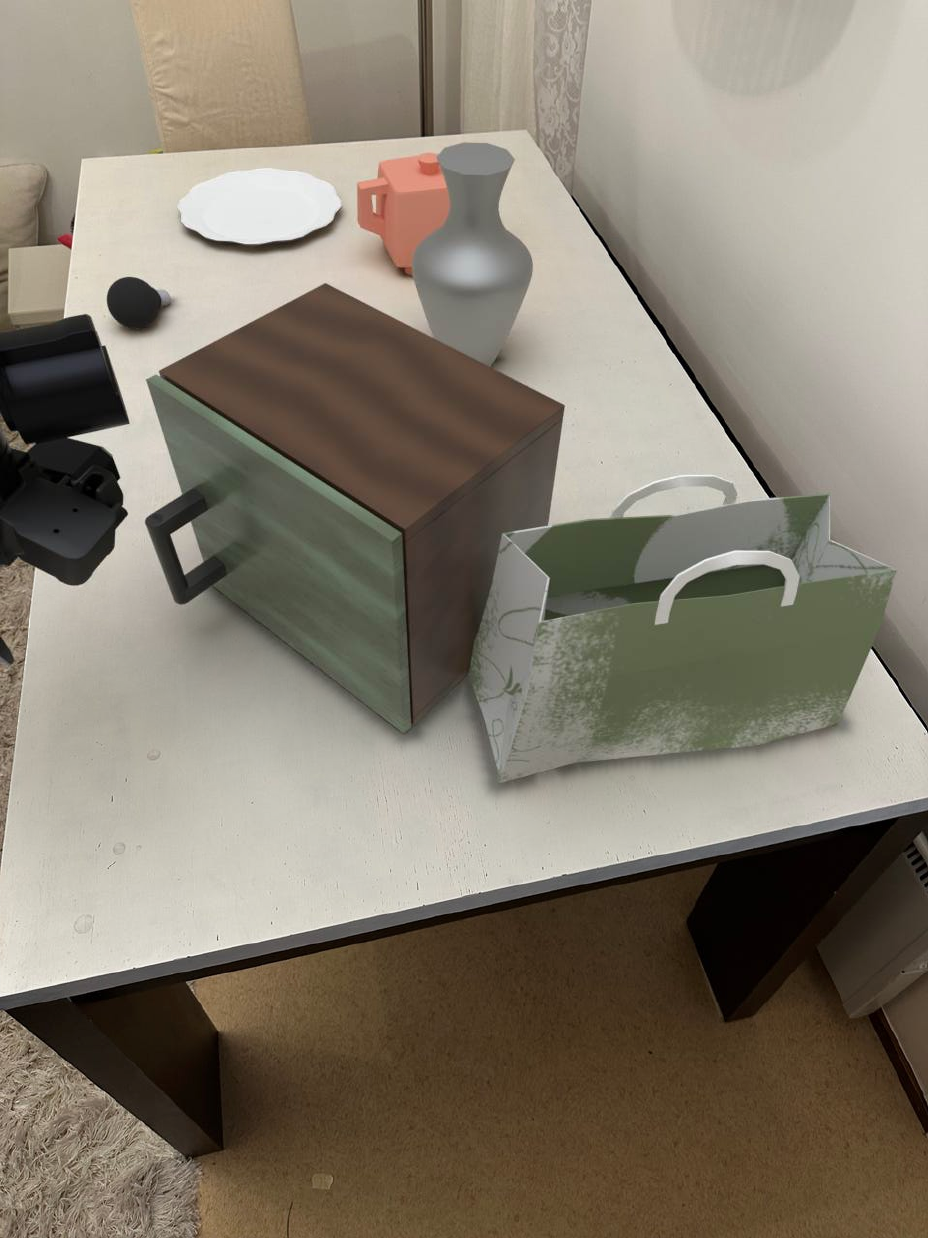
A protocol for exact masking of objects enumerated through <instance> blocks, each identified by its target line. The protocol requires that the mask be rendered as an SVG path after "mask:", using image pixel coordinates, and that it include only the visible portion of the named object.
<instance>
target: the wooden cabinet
mask: <svg viewBox="0 0 928 1238" xmlns="http://www.w3.org/2000/svg"><path fill="white" fill-rule="evenodd" d="M158 374H159V376H160V377H161V378H163V379H164V380H166V381H167V382H169V383H170V384H172V385H173V386H175V387H177V388H178V389H180V390H181V391H183V392H184V393H186V394H187V395H189V396H191V397H192V398H194V399H195V400H197V401H198V402H200V403H201V404H203V405H204V406H206V407H208V408H209V409H211V410H212V411H214V412H215V413H217V414H218V415H220V416H221V417H223V418H225V419H226V420H228V421H229V422H231V423H232V424H234V425H235V426H237V427H238V428H240V429H242V430H243V431H245V432H246V433H248V434H249V435H251V436H252V437H254V438H256V439H257V440H259V441H260V442H262V443H263V444H265V445H266V446H268V447H269V448H271V449H273V450H274V451H276V452H277V453H279V454H280V455H282V456H283V457H285V458H286V459H288V460H290V461H291V462H293V463H294V464H296V465H297V466H299V467H300V468H302V469H303V470H305V471H307V472H308V473H310V474H311V475H313V476H314V477H316V478H317V479H319V480H321V481H322V482H324V483H325V484H327V485H328V486H330V487H331V488H333V489H334V490H336V491H338V492H339V493H341V494H342V495H344V496H345V497H347V498H348V499H350V500H351V501H353V502H355V503H356V504H358V505H359V506H361V507H362V508H364V509H365V510H367V511H368V512H370V513H372V514H373V515H375V516H376V517H378V518H379V519H381V520H382V521H384V522H386V523H387V524H389V525H390V526H392V527H393V528H395V529H396V530H398V531H399V532H401V533H402V542H403V563H404V584H405V605H406V626H407V647H408V668H409V689H410V710H411V726H415V725H416V724H417V723H418V722H419V721H420V720H422V719H423V717H424V716H426V714H427V713H429V712H430V711H431V710H432V709H433V708H434V707H435V706H436V705H437V704H439V702H440V701H442V700H443V698H445V697H446V696H447V695H448V694H449V693H450V692H451V691H452V690H453V689H454V688H456V686H457V685H458V684H460V682H461V681H462V680H463V679H464V678H466V677H467V676H468V675H469V669H470V663H471V657H472V651H473V644H474V640H475V638H476V635H477V633H478V630H479V627H480V623H481V620H482V616H483V613H484V610H485V606H486V603H487V599H488V596H489V592H490V589H491V586H492V581H493V576H494V571H495V566H496V562H497V557H498V552H499V547H500V542H501V537H502V533H507V532H513V531H519V530H525V529H531V528H537V527H543V526H549V521H550V514H551V508H552V499H553V493H554V486H555V479H556V473H557V465H558V459H559V458H558V456H559V449H560V445H561V444H560V443H561V435H562V429H563V421H564V416H565V415H564V414H565V409H566V408H565V407H566V405H565V404H564V403H562V402H560V401H557V400H555V399H554V398H551V397H550V396H547V395H546V394H544V393H542V392H540V391H538V390H536V389H534V388H532V387H530V386H529V385H526V384H525V383H522V382H521V381H518V380H517V379H514V378H513V377H511V376H509V375H507V374H504V373H503V372H501V371H499V370H497V369H495V368H493V367H492V366H491V367H489V366H487V365H485V364H483V363H481V362H479V361H477V360H475V359H473V358H471V357H469V356H467V355H466V354H464V353H462V352H460V351H458V350H456V349H454V348H452V347H450V346H448V345H446V344H444V343H442V342H440V341H438V340H436V339H434V337H433V336H431V335H428V334H426V333H424V332H422V331H421V330H419V329H417V328H415V327H413V326H411V325H408V324H407V323H405V322H403V321H401V320H398V319H397V318H395V317H393V316H391V315H390V314H387V313H385V312H383V311H381V310H380V309H377V308H375V307H373V306H371V304H370V305H369V304H368V303H365V302H364V301H362V300H360V299H358V298H356V297H353V296H352V295H350V294H348V293H347V292H344V291H342V290H341V289H338V288H336V287H334V286H332V285H330V284H328V283H327V282H325V283H322V284H320V285H318V286H317V287H315V288H313V289H311V290H309V291H307V292H305V293H303V294H302V295H300V296H298V297H295V298H294V299H292V300H290V301H288V302H287V303H285V304H282V305H281V306H278V307H277V308H274V309H273V310H271V311H269V312H267V313H265V314H263V315H262V316H260V317H258V318H256V319H254V320H252V321H250V322H248V323H246V324H245V325H243V326H241V327H239V328H237V329H235V330H233V331H232V332H230V333H227V334H226V335H224V336H222V337H220V338H218V339H216V340H215V341H213V342H211V343H209V344H207V345H205V346H203V347H201V348H199V349H197V350H195V351H194V352H191V353H189V354H188V355H186V356H184V357H181V359H178V360H176V361H174V362H172V363H171V364H169V365H167V366H165V367H163V368H162V369H159V370H158Z"/></svg>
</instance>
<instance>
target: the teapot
mask: <svg viewBox="0 0 928 1238" xmlns="http://www.w3.org/2000/svg"><path fill="white" fill-rule="evenodd" d="M439 154H440V153H435V152H423V153H420V154H419V155H412V156H406V157H398V158H392V159H386V160H381V161H380V162H379V163H378V169H377V176H376V177H377V178H372V179H368V180H362V181H357V182H356V191H357V192H356V203H357V204H356V205H357V206H356V207H357V208H356V210H357V212H356V213H357V214H356V215H357V219H356V220H357V222H358V225H359V227H360V229H363V230H365V231H367V232H370V233H373V234H376V235H377V236H379V237H380V239H381V242H382V243H383V245H384V247H385V250H386V251H387V253H388V255H389V257H390V258H391V260H392V262H393V263H394V265H395V266H396V267H397V268H404V272H405V274H407V275H409V276H413V274H412V258H413V254H414V252H415V250H416V248H417V246H418V244H419V243H420V242H421V241H422V240H423V239H424V238H425V237H427V236H428V235H429V234H431V233H432V232H434V231H435V230H437V229H439V228H440V227H442V225H443V224H444V222H445V220H446V218H447V216H448V213H449V209H450V199H449V194H448V189H447V186H446V182H445V179H444V176H443V173H442V170H441V168H440V165H439V163H438V160H437V158H436V157H437V156H438V155H439ZM373 196H375V212H374V204H373Z"/></svg>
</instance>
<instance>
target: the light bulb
mask: <svg viewBox="0 0 928 1238" xmlns="http://www.w3.org/2000/svg"><path fill="white" fill-rule="evenodd" d="M171 300H172V299H171V294H170V293H169V291H167V290H166V289H155V288H154V287H153V286H151V284H149V283H148V282H147V281H145V280H143V279H141V278H139V277H135V276H124V277H121V278H118V279H116V280H115V281H114V282H113V283H112V284H110V287H108V291H107V294H106V306H107V309H108V312H109V313H110V315H111V317H112V318H113V319H114V320H115V321H116V322H117V323H119V324H120V325H122V326H123V327H125V328H129V329H134V330H138V329H139V330H140V329H145V328H146V327H149V326H150V325H151V324H153V322H154V321H155V320H156V318H157V317H158V314H159V311H160V310H161V308H163V307H167V306H169V305H170V304H171Z"/></svg>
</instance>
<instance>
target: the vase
mask: <svg viewBox="0 0 928 1238" xmlns="http://www.w3.org/2000/svg"><path fill="white" fill-rule="evenodd" d="M438 154H439V155H438V156H437V157H436V158H437V160H438V163H439V165H440V168H441V170H442V173H443V176H444V179H445V182H446V186H447V189H448V194H449V199H450V209H449V213H448V216H447V218H446V220H445V222H444V224H443V225H442V227H440V228H439V229H437V230H435V231H434V232H432V233H431V234H429V235H428V236H427V237H425V238H424V239H423V240H422V241H421V242H420V243H419V244H418V246H417V248H416V250H415V252H414V254H413V258H412V274H413V275H412V279H413V282H414V285H415V288H416V292H417V295H418V299H419V301H420V303H421V306H422V310H423V313H424V315H425V319H426V321H427V324H428V327H429V330H430V332H431V334H432V338H434V339H436V340H438V341H440V342H442V343H444V344H446V345H448V346H450V347H452V348H454V349H456V350H458V351H460V352H462V353H464V354H466V355H467V356H469V357H471V358H473V359H475V360H477V361H479V362H481V363H483V364H485V365H487V366H489V367H491V368H492V367H493V364H494V362H495V361H496V359H497V357H498V356H499V354H500V352H501V350H502V349H503V347H504V345H505V343H506V342H507V340H508V337H509V336H510V334H511V331H512V329H513V326H514V324H515V322H516V320H517V317H518V314H519V312H520V310H521V308H522V305H523V303H524V300H525V297H526V295H527V292H528V289H529V287H530V284H531V280H532V277H533V271H534V262H533V258H532V254H531V252H530V250H529V249H528V247H527V245H526V244H525V243H524V242H523V241H522V240H521V239H520V238H519V237H518V236H516V235H515V234H513V232H511V231H509V230H508V229H506V227H505V225H504V223H503V221H502V218H501V215H500V209H499V208H500V200H501V199H500V198H501V197H502V193H503V190H504V186H505V183H506V182H507V179H508V176H509V174H510V171H511V169H512V167H513V165H514V163H515V159H516V158H515V157H514V156H513V155H512V154H511V152H510V151H509V150H508V149H507V148H504V147H501V146H498V145H495V144H491V143H488V142H467V141H466V142H459V143H457V144H454V145H449V146H446V147H444V148H443V149H442V150H441V151H440V152H439V153H438Z"/></svg>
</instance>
